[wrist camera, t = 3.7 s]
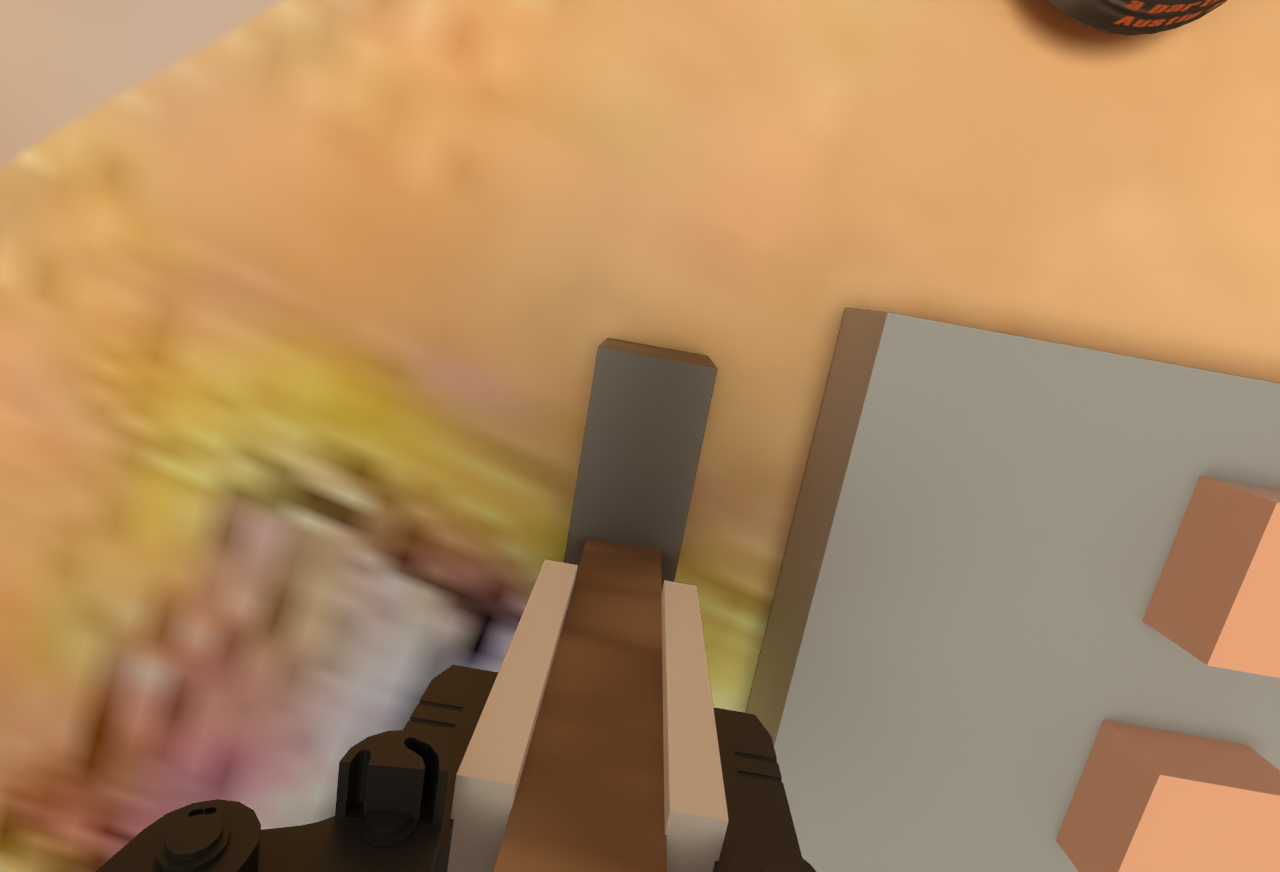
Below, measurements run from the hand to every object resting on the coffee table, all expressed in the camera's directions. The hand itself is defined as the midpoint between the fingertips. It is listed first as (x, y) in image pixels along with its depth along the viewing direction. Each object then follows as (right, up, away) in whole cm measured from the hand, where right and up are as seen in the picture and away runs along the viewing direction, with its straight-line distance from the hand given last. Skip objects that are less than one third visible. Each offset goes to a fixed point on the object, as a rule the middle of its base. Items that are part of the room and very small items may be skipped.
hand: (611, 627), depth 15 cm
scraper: (0, +1, +5) cm, 6 cm away
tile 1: (+15, -6, +3) cm, 16 cm away
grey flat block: (+12, -1, +6) cm, 13 cm away
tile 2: (+16, +1, +2) cm, 16 cm away
